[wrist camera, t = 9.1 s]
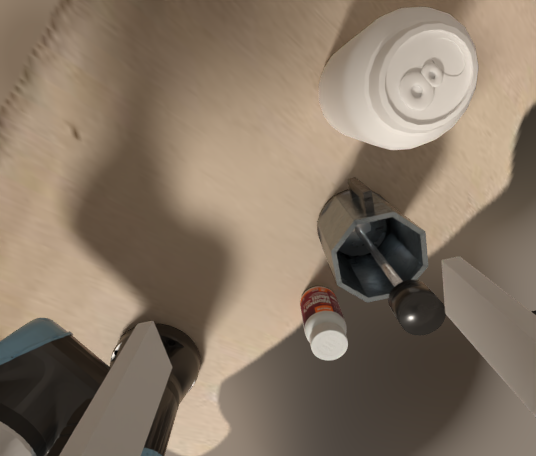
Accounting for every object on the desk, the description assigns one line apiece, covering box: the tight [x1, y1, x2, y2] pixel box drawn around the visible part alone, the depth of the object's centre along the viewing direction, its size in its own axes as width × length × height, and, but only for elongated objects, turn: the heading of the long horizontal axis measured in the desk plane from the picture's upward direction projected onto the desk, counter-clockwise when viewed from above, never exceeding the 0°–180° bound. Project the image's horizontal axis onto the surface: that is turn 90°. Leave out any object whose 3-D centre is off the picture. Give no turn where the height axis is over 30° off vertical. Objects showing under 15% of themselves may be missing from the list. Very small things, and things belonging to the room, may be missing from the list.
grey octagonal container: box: [317, 177, 428, 302], centre depth 47 cm, size 12×14×12 cm
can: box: [319, 7, 478, 150], centre depth 37 cm, size 12×12×20 cm
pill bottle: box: [300, 286, 348, 360], centre depth 52 cm, size 6×6×11 cm
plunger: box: [339, 219, 446, 335], centre depth 41 cm, size 8×8×23 cm
